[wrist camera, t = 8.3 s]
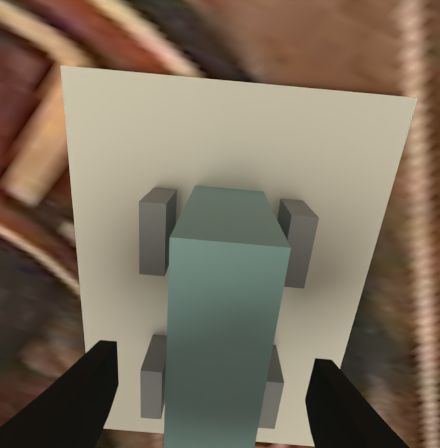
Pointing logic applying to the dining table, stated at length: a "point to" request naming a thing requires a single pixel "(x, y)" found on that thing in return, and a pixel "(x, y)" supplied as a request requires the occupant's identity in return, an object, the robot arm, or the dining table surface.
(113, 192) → the hinge board
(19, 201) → the dining table surface
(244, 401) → the teal rectangular block
